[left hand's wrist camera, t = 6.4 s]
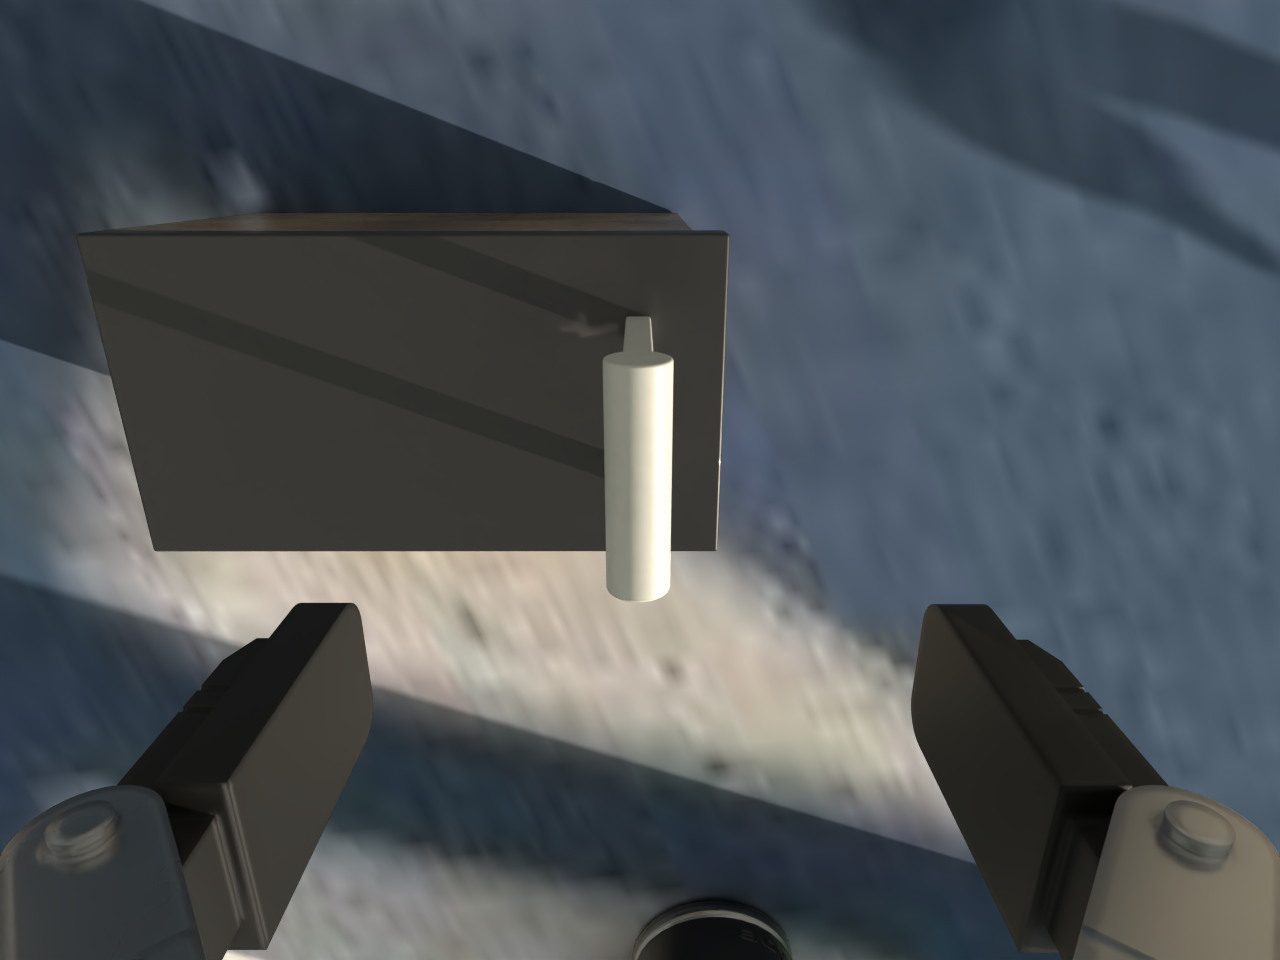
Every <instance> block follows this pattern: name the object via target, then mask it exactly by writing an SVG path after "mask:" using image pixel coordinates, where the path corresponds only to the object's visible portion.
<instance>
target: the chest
mask: <svg viewBox="0 0 1280 960" xmlns="http://www.w3.org/2000/svg"><path fill="white" fill-rule="evenodd" d="M108 231H693V230H692V229H691V228H690V227H689V226H688V225H687V224H686V222H685V221H684V220H683V219H682V218H681V217H680V216H679V215H678V213H255V214H246V215H237V216H228V217H220V218H211V219H202V220H193V221H184V222H175V223H166V224H158V225H149V226H140V227H131V228H122V229H113V230H108Z"/></svg>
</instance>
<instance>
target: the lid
mask: <svg viewBox="0 0 1280 960" xmlns="http://www.w3.org/2000/svg"><path fill="white" fill-rule="evenodd" d="M76 238H77V242H78V246H79V250H80V254H81V258H82V262H83V266H84V270H85V274H86V278H87V282H88V286H89V290H90V294H91V298H92V302H93V306H94V310H95V314H96V318H97V322H98V326H99V330H100V334H101V338H102V342H103V346H104V350H105V354H106V358H107V362H108V366H109V371H110V375H111V379H112V383H113V387H114V391H115V395H116V399H117V403H118V407H119V411H120V415H121V419H122V423H123V427H124V431H125V435H126V439H127V443H128V447H129V451H130V455H131V459H132V463H133V467H134V471H135V475H136V479H137V483H138V487H139V491H140V495H141V499H142V503H143V507H144V511H145V515H146V519H147V524H148V528H149V532H150V536H151V540H152V544H153V548H154V550H155V551H606V583H607V589H608V591H609V593H610V594H611V595H613V596H614V597H616V598H618V599H621V600H624V601H629V602H648V601H653V600H656V599H659V598H661V597H662V596H664V595H665V594H666V593H667V592H668V590H669V588H670V555H671V551H716V550H717V548H718V524H719V499H720V474H721V449H722V424H723V398H724V373H725V348H726V323H727V298H728V272H729V247H730V236H729V234H728V233H726V232H725V231H96V232H87V233H79V234H77V236H76Z"/></svg>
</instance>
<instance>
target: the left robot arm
mask: <svg viewBox="0 0 1280 960" xmlns="http://www.w3.org/2000/svg"><path fill="white" fill-rule="evenodd" d="M372 713H373V696H372V688H371V681H370V675H369V668H368V661H367V654H366V647H365V641H364V634H363V627H362V620H361V615H360V612H359V610H358V608H357V606H356V605H355V604H354V603H298V604H297V605H295V606H294V607H293V608H292V610H291V611H290V612H289V614H288V615H287V616H286V617H285V619H284V620H283V621H282V622H281V624H280V625H279V626H278V627H277V629H276V630H275V631H274V632H273V634H272V635H271V636H270V637H269V638H257V639H255V640H253V641H252V642H250V643H249V644H247V645H246V646H244V647H243V648H241V649H240V650H238V651H236V652H235V653H233V654H232V655H230V656H229V657H227V658H226V659H224V660H223V661H222V662H221V663H220V664H219V666H218V667H217V668H216V669H215V670H214V671H213V673H212V674H211V675H210V676H209V677H208V679H207V680H206V681H205V682H204V683H203V684H202V689H201V691H196V693H195V694H194V695H193V696H192V697H191V699H190V700H189V701H188V702H187V703H186V704H185V706H184V710H183V712H179V713H178V714H177V715H176V716H175V717H174V718H173V720H172V721H171V722H170V723H169V724H168V726H167V727H166V728H165V729H164V730H163V731H162V733H161V734H160V735H159V736H158V737H157V738H156V740H155V741H154V742H153V743H152V744H151V746H150V747H149V748H148V749H147V750H146V751H145V753H144V754H143V755H142V756H141V757H140V758H139V760H138V761H137V762H136V763H135V764H134V765H133V767H132V768H131V769H130V770H129V771H128V773H127V774H126V775H125V776H124V777H123V778H122V780H121V781H120V782H119V783H118V784H117V785H116V786H110V787H104V788H100V789H96V790H92V791H89V792H86V793H83V794H80V795H77V796H75V797H72V798H70V799H68V800H65V801H63V802H61V803H59V804H57V805H55V806H53V807H52V808H50V809H48V810H47V811H45V812H43V813H42V814H40V815H39V816H37V817H36V818H35V819H33V820H32V821H31V822H29V823H28V824H27V825H26V826H24V827H23V828H22V829H21V830H20V831H19V832H18V833H17V834H16V835H15V836H14V837H13V838H12V839H11V840H10V842H9V843H8V844H7V846H6V847H5V849H4V850H3V852H2V854H1V855H0V960H222V959H223V957H224V955H225V953H226V951H227V950H267V947H268V945H269V943H270V941H271V939H272V937H273V935H274V933H275V931H276V929H277V927H278V925H279V922H280V920H281V918H282V916H283V914H284V912H285V910H286V908H287V906H288V904H289V902H290V899H291V897H292V895H293V893H294V891H295V889H296V887H297V885H298V883H299V881H300V879H301V877H302V874H303V872H304V870H305V868H306V866H307V864H308V862H309V860H310V858H311V856H312V854H313V851H314V849H315V847H316V845H317V843H318V841H319V839H320V837H321V835H322V833H323V831H324V829H325V826H326V824H327V822H328V820H329V818H330V816H331V814H332V812H333V810H334V808H335V806H336V804H337V801H338V799H339V797H340V795H341V793H342V791H343V789H344V787H345V785H346V783H347V781H348V778H349V776H350V774H351V772H352V770H353V768H354V766H355V764H356V762H357V760H358V758H359V756H360V753H361V751H362V749H363V747H364V745H365V743H366V741H367V738H368V735H369V731H370V727H371V722H372ZM911 714H912V723H913V728H914V732H915V736H916V739H917V742H918V744H919V746H920V748H921V750H922V753H923V755H924V757H925V759H926V761H927V763H928V765H929V767H930V769H931V771H932V773H933V775H934V777H935V779H936V781H937V783H938V786H939V788H940V790H941V792H942V794H943V796H944V798H945V800H946V802H947V804H948V806H949V808H950V810H951V812H952V814H953V816H954V818H955V821H956V823H957V825H958V827H959V829H960V831H961V833H962V835H963V837H964V839H965V841H966V843H967V845H968V847H969V849H970V851H971V854H972V856H973V858H974V860H975V862H976V864H977V866H978V868H979V870H980V872H981V874H982V876H983V878H984V880H985V882H986V884H987V887H988V889H989V891H990V893H991V895H992V897H993V899H994V901H995V903H996V905H997V907H998V909H999V911H1000V913H1001V915H1002V917H1003V919H1004V922H1005V924H1006V926H1007V928H1008V930H1009V932H1010V934H1011V936H1012V938H1013V940H1014V942H1015V944H1016V946H1017V948H1018V950H1019V952H1020V953H1059V954H1060V955H1061V957H1062V959H1063V960H1280V856H1279V854H1278V852H1277V850H1276V849H1275V847H1274V846H1273V844H1272V843H1271V842H1270V840H1269V839H1268V838H1267V837H1266V836H1265V835H1264V834H1263V833H1262V832H1261V831H1260V830H1259V829H1258V828H1257V827H1256V826H1254V825H1253V824H1252V823H1251V822H1249V821H1248V820H1247V819H1245V818H1244V817H1243V816H1241V815H1240V814H1238V813H1237V812H1235V811H1233V810H1232V809H1230V808H1228V807H1227V806H1225V805H1223V804H1221V803H1219V802H1217V801H1215V800H1212V799H1210V798H1208V797H1205V796H1203V795H1200V794H1197V793H1194V792H1191V791H1188V790H1184V789H1180V788H1176V787H1170V786H1168V785H1167V783H1166V782H1165V781H1164V780H1163V779H1162V778H1161V776H1160V775H1159V774H1158V773H1157V772H1156V771H1155V769H1154V768H1153V767H1152V766H1151V765H1150V764H1149V762H1148V761H1147V760H1146V759H1145V758H1144V757H1143V755H1142V754H1141V753H1140V752H1139V751H1138V750H1137V749H1136V747H1135V746H1134V745H1133V744H1132V743H1131V742H1130V740H1129V739H1128V738H1127V737H1126V736H1125V735H1124V733H1123V732H1122V731H1121V730H1120V729H1119V728H1118V726H1117V725H1116V724H1115V723H1114V722H1113V721H1112V719H1111V718H1110V717H1109V716H1108V715H1107V714H1103V712H1102V708H1101V707H1100V705H1099V704H1098V703H1097V702H1096V701H1095V700H1094V698H1093V697H1092V696H1091V695H1090V694H1089V693H1088V692H1084V687H1083V686H1082V684H1081V683H1080V682H1079V681H1078V680H1077V679H1076V677H1075V676H1074V675H1073V674H1072V673H1071V672H1070V670H1069V669H1068V668H1067V667H1066V666H1065V665H1064V663H1063V662H1062V661H1060V660H1059V659H1057V658H1055V657H1054V656H1052V655H1051V654H1049V653H1048V652H1046V651H1045V650H1043V649H1042V648H1040V647H1038V646H1037V645H1035V644H1034V643H1032V642H1031V641H1029V640H1016V639H1015V638H1014V636H1013V635H1012V634H1011V633H1010V631H1009V630H1008V629H1007V628H1006V626H1005V625H1004V624H1003V623H1002V621H1001V620H1000V619H999V618H998V616H997V615H996V614H995V613H994V611H993V610H992V609H991V608H990V607H989V606H987V605H984V604H932V605H930V606H929V607H928V608H927V610H926V612H925V614H924V618H923V624H922V630H921V637H920V644H919V650H918V657H917V664H916V670H915V677H914V684H913V690H912V698H911ZM633 960H792V955H791V949H790V945H789V942H788V939H787V937H786V935H785V933H784V932H783V930H782V929H781V928H780V926H779V925H778V924H777V923H776V922H775V921H774V920H772V919H771V918H770V917H769V916H767V915H765V914H764V913H762V912H760V911H758V910H756V909H754V908H752V907H749V906H746V905H743V904H739V903H734V902H728V901H701V902H695V903H690V904H686V905H682V906H679V907H677V908H674V909H672V910H669V911H667V912H665V913H664V914H662V915H660V916H659V917H657V918H656V919H655V920H653V921H652V922H651V923H650V924H649V925H648V926H647V927H646V928H645V929H644V930H643V932H642V933H641V934H640V936H639V938H638V939H637V942H636V944H635V947H634V951H633Z"/></svg>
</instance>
